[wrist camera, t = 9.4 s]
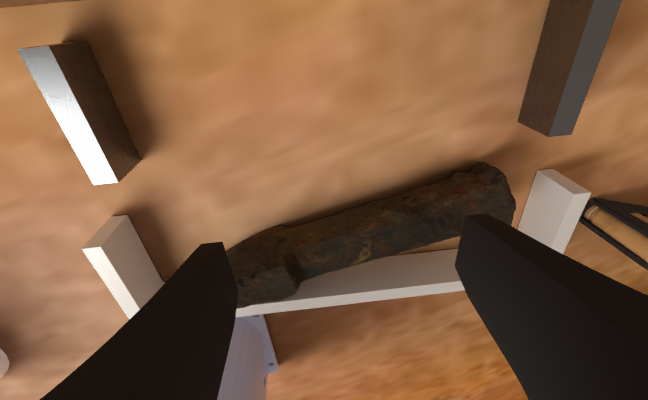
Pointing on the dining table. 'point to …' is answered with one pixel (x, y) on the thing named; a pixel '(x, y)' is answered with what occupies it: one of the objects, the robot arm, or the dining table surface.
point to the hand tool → (365, 233)
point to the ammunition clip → (620, 226)
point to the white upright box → (3, 363)
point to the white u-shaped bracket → (349, 283)
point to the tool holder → (121, 157)
